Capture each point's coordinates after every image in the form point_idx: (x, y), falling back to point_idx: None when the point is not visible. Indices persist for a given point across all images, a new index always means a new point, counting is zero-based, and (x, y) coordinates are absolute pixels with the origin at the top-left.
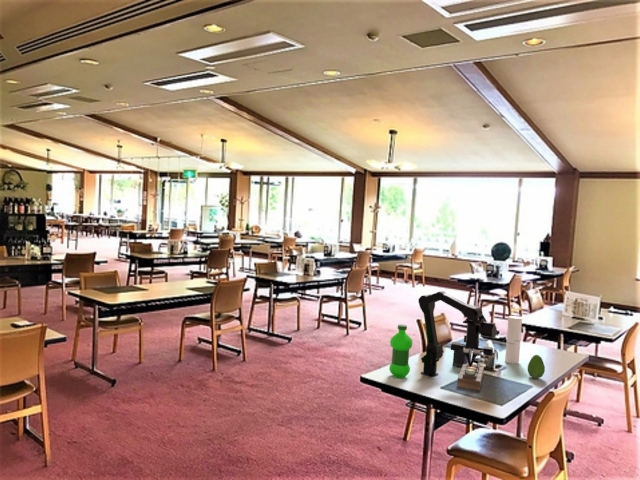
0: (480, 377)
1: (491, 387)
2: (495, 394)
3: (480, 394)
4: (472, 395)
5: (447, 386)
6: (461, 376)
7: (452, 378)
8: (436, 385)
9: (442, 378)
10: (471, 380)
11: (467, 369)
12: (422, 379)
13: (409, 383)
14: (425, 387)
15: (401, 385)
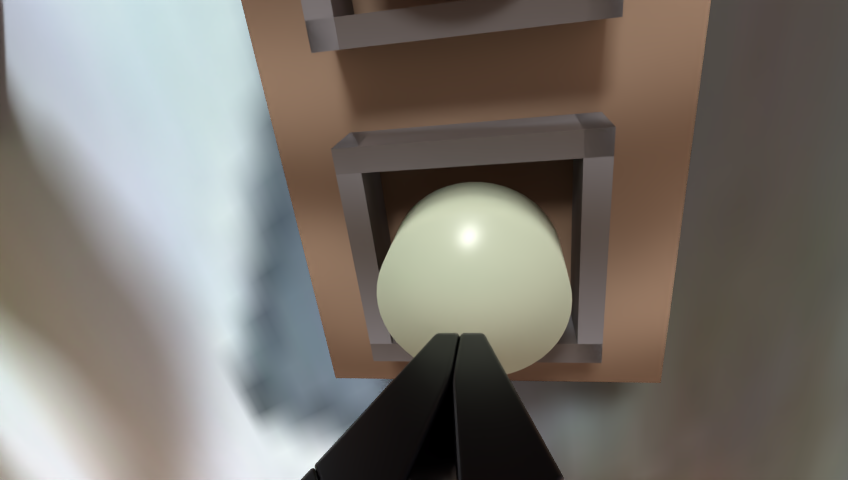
0: (675, 159)
1: (827, 87)
2: (830, 348)
3: (638, 416)
4: (558, 466)
5: (283, 348)
6: (355, 284)
7: (200, 5)
8: (193, 368)
9: (111, 102)
10: (526, 377)
11: (404, 282)
12: (6, 271)
13: (21, 418)
14: (157, 447)
15: (21, 475)
